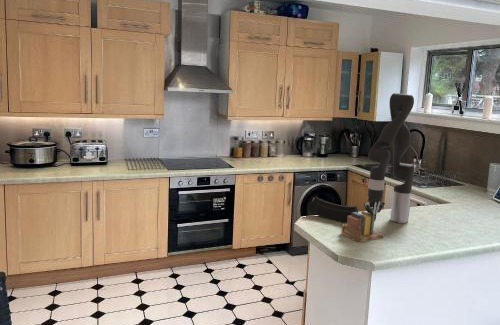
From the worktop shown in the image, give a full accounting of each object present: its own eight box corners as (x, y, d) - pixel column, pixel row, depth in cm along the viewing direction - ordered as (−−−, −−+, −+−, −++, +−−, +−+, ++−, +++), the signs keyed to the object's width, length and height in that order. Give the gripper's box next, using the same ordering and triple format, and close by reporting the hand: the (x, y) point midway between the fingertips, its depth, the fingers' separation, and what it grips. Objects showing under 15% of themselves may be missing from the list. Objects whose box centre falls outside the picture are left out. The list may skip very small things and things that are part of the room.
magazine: (366, 210, 224) (318, 185, 238) (363, 211, 221) (316, 185, 235) (354, 236, 229) (308, 210, 244) (351, 238, 227) (305, 211, 241)
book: (361, 230, 213) (363, 213, 211) (369, 234, 208) (371, 217, 206) (356, 231, 211) (358, 214, 209) (364, 235, 206) (365, 217, 205)
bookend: (361, 229, 214) (363, 210, 212) (372, 234, 207) (374, 215, 206) (359, 229, 214) (361, 211, 212) (371, 235, 207) (373, 215, 205)
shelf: (365, 229, 219) (368, 208, 217) (383, 237, 209) (385, 215, 207) (341, 233, 210) (343, 212, 208) (358, 242, 200) (360, 219, 198)
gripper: (372, 190, 202) (368, 224, 205) (391, 188, 208) (387, 221, 211) (360, 187, 208) (357, 220, 211) (379, 185, 214) (376, 217, 218)
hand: (372, 220), depth 211 cm, fingers closed
